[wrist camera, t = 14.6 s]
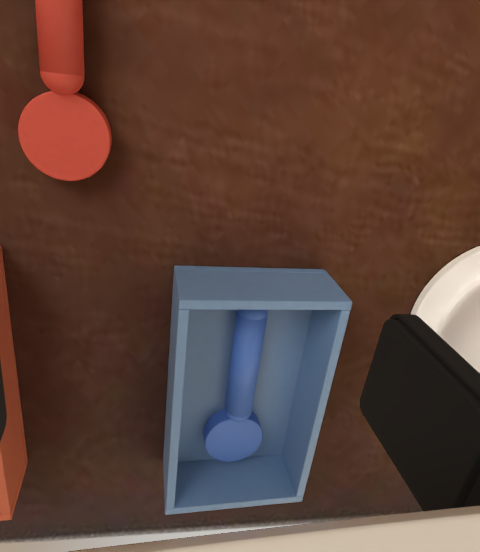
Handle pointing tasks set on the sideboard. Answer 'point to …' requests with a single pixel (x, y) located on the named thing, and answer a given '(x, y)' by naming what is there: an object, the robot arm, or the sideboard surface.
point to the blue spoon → (239, 393)
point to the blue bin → (269, 388)
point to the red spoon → (63, 100)
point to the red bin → (10, 413)
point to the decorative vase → (455, 305)
